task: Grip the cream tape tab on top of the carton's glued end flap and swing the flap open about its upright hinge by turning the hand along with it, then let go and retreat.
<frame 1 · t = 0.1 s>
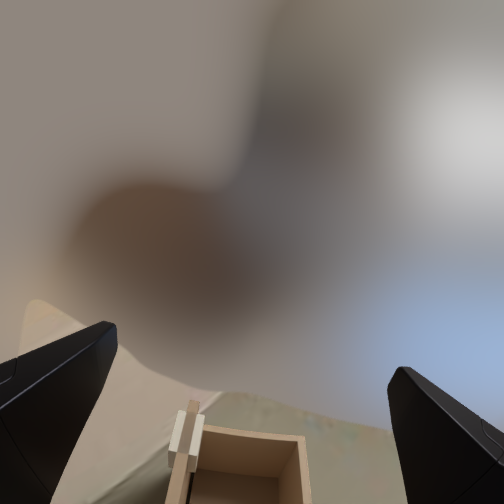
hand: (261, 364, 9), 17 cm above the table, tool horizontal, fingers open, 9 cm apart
end flap: (180, 490, 14), point 4 cm above the table, hinge at 0.0°
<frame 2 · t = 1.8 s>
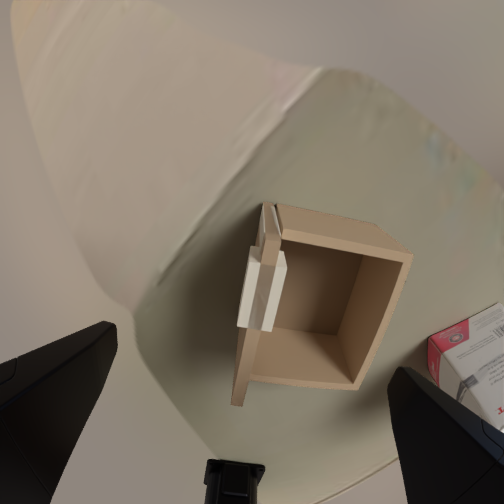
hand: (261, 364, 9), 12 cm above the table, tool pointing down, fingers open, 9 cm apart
ink box: (464, 336, 23), on the table
carton: (312, 277, 21), on the table
end flap: (253, 296, 17), point 4 cm above the table, hinge at 0.0°
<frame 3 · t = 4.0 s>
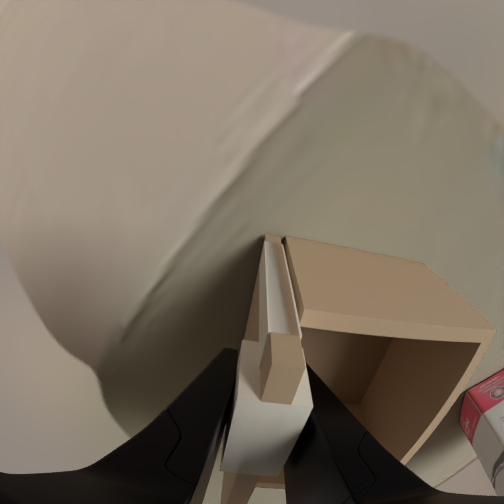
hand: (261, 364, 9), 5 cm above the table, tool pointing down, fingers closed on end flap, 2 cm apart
ink box: (502, 382, 17), on the table
carton: (332, 337, 15), on the table
end flap: (250, 387, 10), point 4 cm above the table, hinge at 0.0°, touching gripper
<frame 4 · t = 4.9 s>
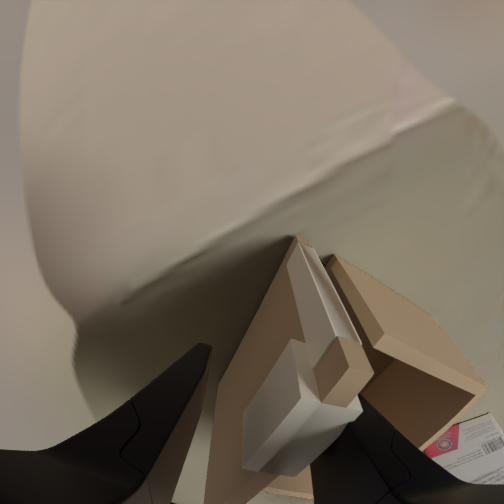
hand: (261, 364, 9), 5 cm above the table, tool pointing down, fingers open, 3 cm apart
ink box: (445, 437, 19), on the table
carton: (333, 356, 15), on the table
end flap: (258, 384, 10), point 4 cm above the table, hinge at 7.1°, touching gripper
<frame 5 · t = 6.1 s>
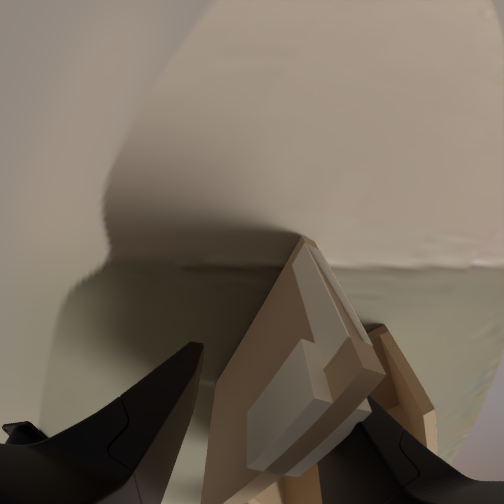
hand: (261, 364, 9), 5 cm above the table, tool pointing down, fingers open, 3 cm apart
carton: (324, 398, 16), on the table
end flap: (261, 384, 10), point 4 cm above the table, hinge at 37.5°, touching gripper
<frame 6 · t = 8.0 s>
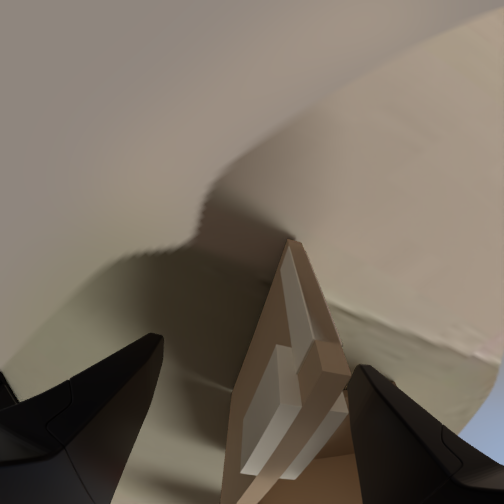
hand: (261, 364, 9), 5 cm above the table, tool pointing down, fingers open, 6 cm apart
carton: (316, 429, 17), on the table
end flap: (262, 390, 10), point 4 cm above the table, hinge at 68.8°
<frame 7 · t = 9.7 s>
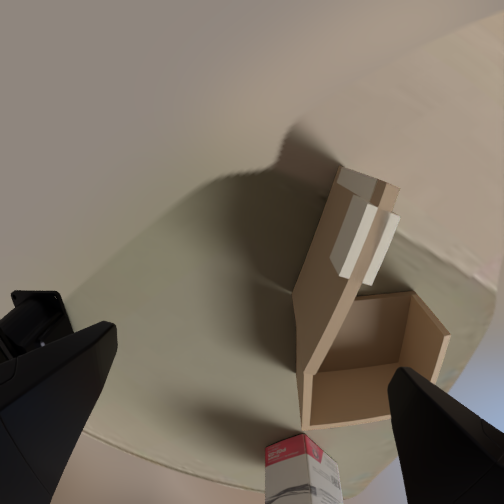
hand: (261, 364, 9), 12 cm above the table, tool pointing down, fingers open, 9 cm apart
ink box: (303, 454, 28), on the table
carton: (354, 335, 22), on the table
end flap: (331, 256, 16), point 4 cm above the table, hinge at 68.8°
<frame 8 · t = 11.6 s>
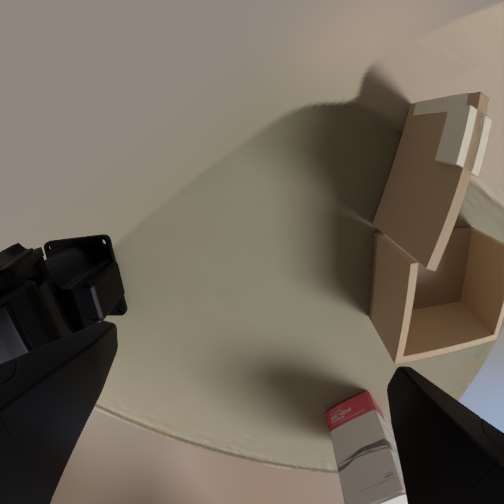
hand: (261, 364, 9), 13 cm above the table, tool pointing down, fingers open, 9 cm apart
ink box: (361, 418, 27), on the table
carton: (423, 271, 22), on the table
end flap: (424, 170, 15), point 4 cm above the table, hinge at 68.8°
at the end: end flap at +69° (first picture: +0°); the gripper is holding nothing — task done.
